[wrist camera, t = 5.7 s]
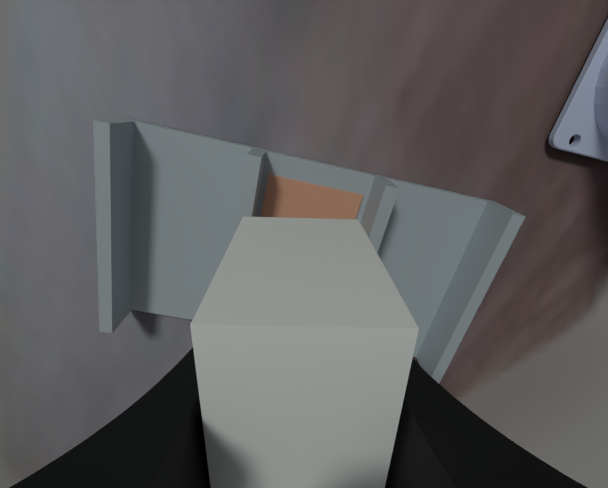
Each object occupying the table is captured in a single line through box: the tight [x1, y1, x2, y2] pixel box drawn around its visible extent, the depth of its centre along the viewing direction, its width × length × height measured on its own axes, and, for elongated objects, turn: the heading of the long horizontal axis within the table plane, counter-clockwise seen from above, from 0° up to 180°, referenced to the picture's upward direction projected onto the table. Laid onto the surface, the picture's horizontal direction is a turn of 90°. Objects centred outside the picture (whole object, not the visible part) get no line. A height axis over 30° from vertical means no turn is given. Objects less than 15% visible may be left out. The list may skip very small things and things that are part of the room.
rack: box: [93, 118, 525, 383], centre depth 16 cm, size 18×10×2 cm, turn 77°
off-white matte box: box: [190, 216, 419, 488], centre depth 10 cm, size 4×7×6 cm, turn 178°
